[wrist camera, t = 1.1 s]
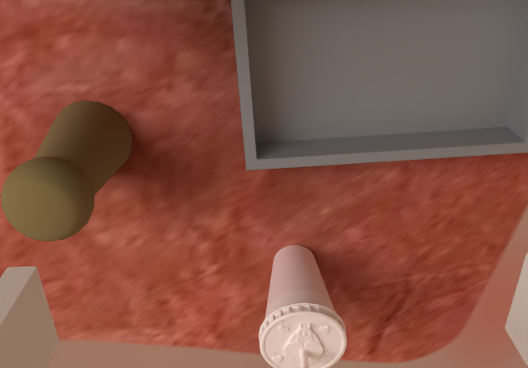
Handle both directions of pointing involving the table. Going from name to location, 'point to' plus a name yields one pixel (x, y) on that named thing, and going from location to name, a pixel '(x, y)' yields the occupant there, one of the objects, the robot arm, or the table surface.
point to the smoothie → (300, 315)
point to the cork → (67, 172)
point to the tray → (380, 80)
